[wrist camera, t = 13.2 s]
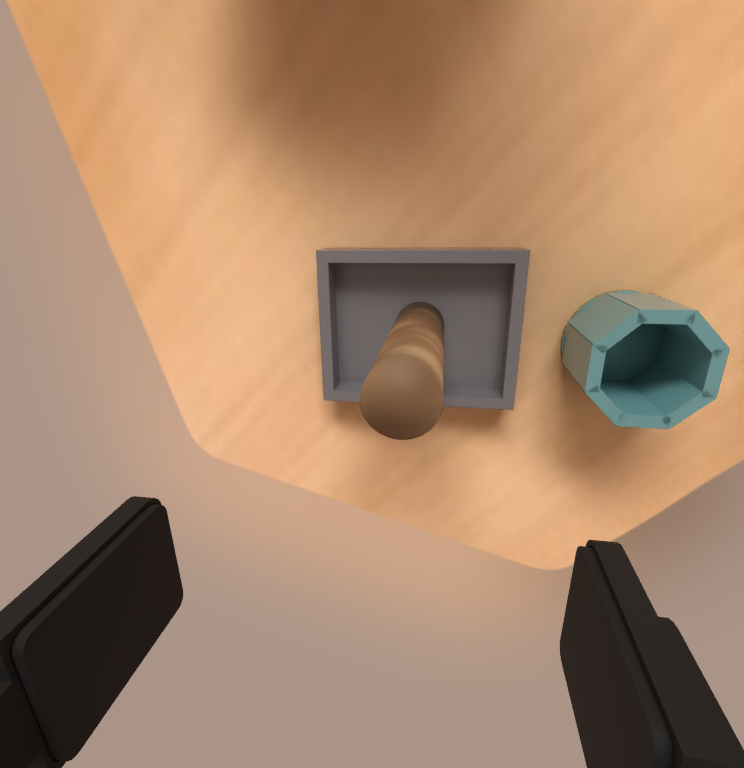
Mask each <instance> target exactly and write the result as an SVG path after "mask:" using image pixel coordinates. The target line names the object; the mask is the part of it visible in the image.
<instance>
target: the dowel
mask: <svg viewBox="0 0 744 768" xmlns="http://www.w3.org/2000/svg"><path fill="white" fill-rule="evenodd" d="M443 368H444V320H443V317H442V314H441V313H440V311H439V310H438V309H437V308H436V307H434V306H433V305H431V304H429V303H426V302H414V303H411V304H409V305H407V306H406V307H404V308H403V309H402V310H401V311H400V313H399V314H398V316H397V318H396V320H395V322H394V324H393V326H392V328H391V330H390V332H389V334H388V336H387V338H386V340H385V342H384V344H383V346H382V348H381V350H380V352H379V354H378V356H377V358H376V360H375V362H374V364H373V366H372V368H371V370H370V372H369V374H368V376H367V378H366V380H365V381H364V383H363V385H362V388H361V392H360V407H361V411H362V414H363V416H364V418H365V419H366V421H367V422H368V424H369V425H370V426H371V427H372V428H373V429H374V430H376V431H377V432H379V433H380V434H382V435H384V436H386V437H389V438H393V439H399V440H407V439H413V438H416V437H419V436H421V435H423V434H425V433H427V432H428V431H429V430H430V429H432V428H433V427H434V425H435V424H436V423H437V421H438V419H439V417H440V415H441V412H442V406H443Z"/></svg>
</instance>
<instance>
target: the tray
mask: <svg viewBox="0 0 744 768" xmlns="http://www.w3.org/2000/svg"><path fill="white" fill-rule="evenodd" d="M529 255H530V250H528V249H526V248H324V249H320V250H316V259H317V278H318V297H319V317H320V336H321V355H322V375H323V394H324V400H331V401H351V402H360V392H361V388H362V385H363V383H364V381H365V380H366V378H367V376H368V374H369V372H370V370H371V368H372V366H373V364H374V362H375V360H376V358H377V356H378V354H379V352H380V350H381V348H382V346H383V344H384V342H385V340H386V338H387V336H388V334H389V332H390V330H391V328H392V326H393V324H394V322H395V320H396V318H397V316H398V314H399V313H400V311H401V310H402V309H403V308H404V307H406V306H407V305H409V304H411V303H414V302H426V303H429V304H431V305H433V306H434V307H436V308H437V309H438V310H439V311H440V313H441V314H442V317H443V320H444V368H443V406H449V407H469V408H488V409H508V410H513V407H514V398H515V388H516V379H517V369H518V360H519V350H520V341H521V331H522V322H523V312H524V303H525V293H526V284H527V274H528V265H529Z"/></svg>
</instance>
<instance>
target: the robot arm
mask: <svg viewBox="0 0 744 768" xmlns="http://www.w3.org/2000/svg"><path fill="white" fill-rule="evenodd" d="M182 599H183V588H182V583H181V578H180V574H179V569H178V564H177V559H176V554H175V549H174V544H173V539H172V535H171V530H170V525H169V520H168V515H167V510H166V508H165V507H164V506H162V505H161V502H160V501H159V500H158V499H156V498H146V497H136V496H134V497H131V498H129V499H128V500H127V501H125V502H124V503H123V504H122V505H121V506H120V507H119V508H117V510H115V511H114V512H113V513H112V514H111V515H109V516H108V517H107V518H106V519H105V520H104V521H103V522H102V523H100V524H99V525H98V526H97V527H96V528H95V529H94V530H92V531H91V532H90V533H89V534H88V535H87V536H86V537H84V538H83V539H82V540H81V541H80V542H79V543H78V544H77V545H75V546H74V547H73V548H72V549H71V550H70V551H69V552H68V553H66V554H65V555H64V556H63V557H62V558H61V559H59V560H58V561H57V562H56V563H55V564H54V565H53V566H52V567H50V568H49V569H48V570H47V571H46V572H45V573H44V574H43V575H41V576H40V577H39V578H38V579H37V580H36V581H34V582H33V583H32V584H31V585H30V586H29V587H28V588H27V589H25V590H24V591H23V592H22V593H21V594H20V595H19V596H17V597H16V598H15V599H14V600H13V601H12V602H11V603H10V604H8V605H7V606H6V607H5V608H4V609H3V610H2V611H0V768H62V766H63V765H64V764H65V762H66V761H70V760H72V759H73V758H74V757H75V756H76V755H77V754H78V752H79V751H80V750H81V748H82V747H83V746H84V744H85V743H86V741H87V740H88V738H89V737H90V736H91V734H92V733H93V731H94V730H95V728H96V727H97V726H98V724H99V723H100V721H101V720H102V718H103V717H104V715H105V714H106V713H107V711H108V710H109V708H110V707H111V705H112V704H113V702H114V701H115V699H116V698H117V697H118V695H119V694H120V692H121V691H122V689H123V688H124V687H125V685H126V684H127V682H128V681H129V679H130V678H131V676H132V675H133V673H134V672H135V671H136V669H137V668H138V666H139V665H140V664H141V662H142V661H143V659H144V658H145V656H146V655H147V653H148V652H149V650H150V649H151V648H152V646H153V645H154V643H155V642H156V640H157V639H158V637H159V636H160V635H161V633H162V632H163V630H164V629H165V627H166V626H167V625H168V623H169V622H170V620H171V619H172V617H173V616H174V615H175V613H176V611H177V610H178V609H179V607H180V605H181V602H182ZM560 656H561V661H562V666H563V670H564V674H565V678H566V682H567V686H568V691H569V695H570V699H571V703H572V707H573V711H574V715H575V719H576V723H577V728H578V732H579V736H580V740H581V744H582V748H583V752H584V757H585V761H586V765H587V768H744V750H743V748H742V746H741V744H740V742H739V740H738V739H737V737H736V735H735V733H734V731H733V729H732V727H731V726H730V724H729V722H728V720H727V718H726V716H725V715H724V713H723V711H722V709H721V707H720V705H719V703H718V702H717V700H716V698H715V697H714V694H713V692H712V690H711V689H710V687H709V685H708V683H707V681H706V679H705V678H704V676H703V674H702V672H701V670H700V668H699V667H698V665H697V663H696V661H695V659H694V657H693V655H692V654H691V652H690V650H689V648H688V646H687V644H686V642H685V641H684V639H683V637H682V635H681V633H680V632H679V630H678V628H677V627H676V625H675V624H674V622H672V621H671V620H670V619H669V618H663V617H658V616H657V614H656V612H655V610H654V608H653V606H652V604H651V602H650V600H649V598H648V596H647V594H646V592H645V590H644V588H643V586H642V584H641V583H640V580H639V578H638V576H637V575H636V573H635V571H634V569H633V567H632V565H631V563H630V561H629V559H628V557H627V555H626V553H625V551H624V549H623V547H622V546H621V544H619V543H616V542H607V541H596V540H589V541H588V542H587V544H586V547H583V546H579V547H578V548H577V551H576V556H575V562H574V567H573V573H572V578H571V584H570V590H569V595H568V600H567V606H566V611H565V617H564V623H563V628H562V633H561V639H560Z"/></svg>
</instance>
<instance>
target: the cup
mask: <svg viewBox="0 0 744 768" xmlns="http://www.w3.org/2000/svg"><path fill="white" fill-rule="evenodd" d="M729 350H730V349H729V347H728V346H727V345H726V344H725V342H724V341H723V340H722V339H721V338H720V336H719V335H718V334H717V333H716V332H715V331H714V329H713V328H712V327H711V326H710V325H709V324H708V322H707V321H706V320H705V319H704V318H703V316H702V315H701V314H700V313H699V312H698V311H697V310H694V309H692V308H689V307H686V306H684V305H681V304H679V303H676V302H673V301H671V300H668V299H665V298H663V297H660V296H657V295H655V294H652V293H641V292H637V291H630V290H619V291H612V292H608V293H603V294H602V295H599V296H597V297H595V298H593V299H591V300H590V301H588V302H587V303H585V304H584V305H583V306H581V307H580V308H579V309H578V310H577V311H576V312H575V314H574V315H573V316H572V317H571V319H570V320H569V322H568V323H567V326H566V328H565V330H564V333H563V337H562V342H561V352H562V364H563V365H564V366H565V367H566V369H567V370H568V371H569V373H570V374H571V375H572V376H573V378H574V379H575V380H576V382H577V383H578V384H579V386H580V387H581V388H582V389H583V391H584V392H585V393H586V394H587V395H588V397H589V398H590V399H591V400H592V401H593V402H594V403H595V404H596V405H597V406H598V407H599V408H600V409H601V411H602V412H603V413H604V414H605V415H606V416H607V417H608V418H609V419H610V420H611V421H612V422H613V423H614V425H615V426H621V427H639V428H658V429H668V428H669V429H670V428H671V427H673V426H675V425H676V424H678V423H679V422H681V421H682V420H684V419H685V418H687V417H688V416H690V415H691V414H693V413H695V412H696V411H698V410H699V409H701V408H702V407H704V406H705V405H707V404H708V403H710V402H712V401H713V400H715V398H717V394H718V390H719V387H720V383H721V379H722V376H723V372H724V368H725V365H726V361H727V357H728V354H729Z"/></svg>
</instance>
